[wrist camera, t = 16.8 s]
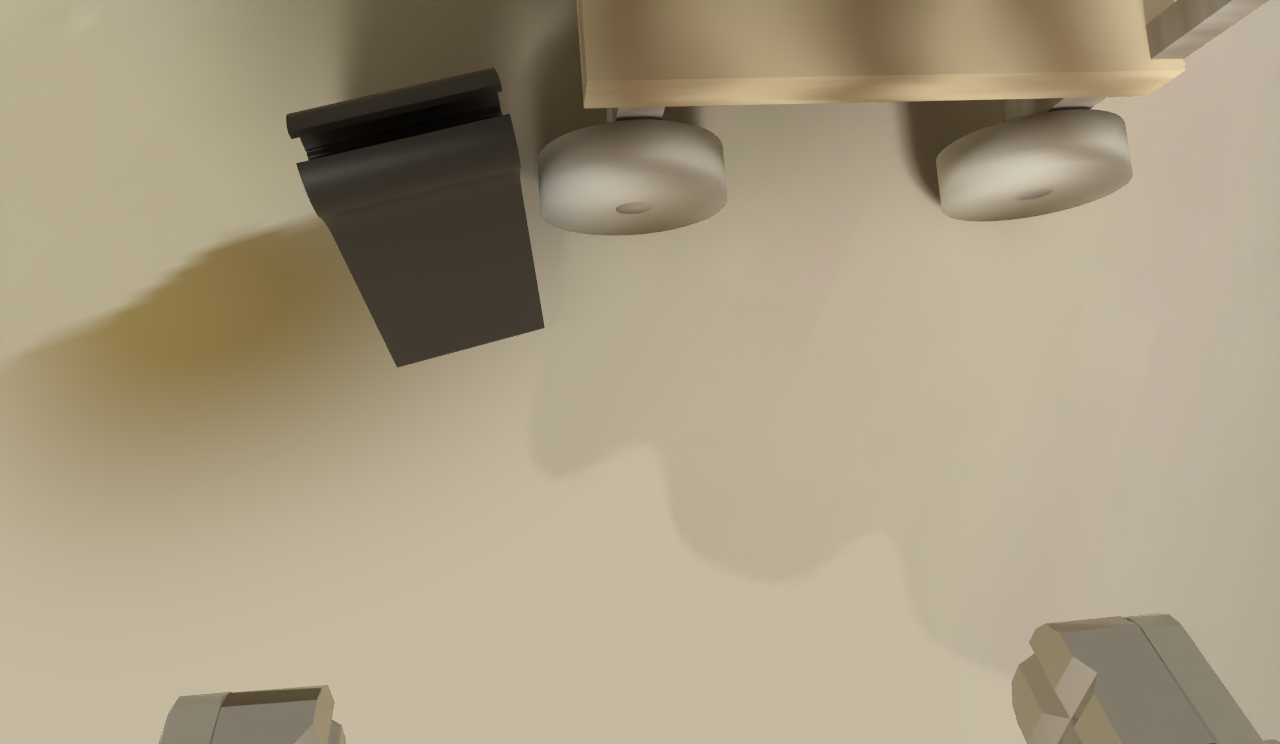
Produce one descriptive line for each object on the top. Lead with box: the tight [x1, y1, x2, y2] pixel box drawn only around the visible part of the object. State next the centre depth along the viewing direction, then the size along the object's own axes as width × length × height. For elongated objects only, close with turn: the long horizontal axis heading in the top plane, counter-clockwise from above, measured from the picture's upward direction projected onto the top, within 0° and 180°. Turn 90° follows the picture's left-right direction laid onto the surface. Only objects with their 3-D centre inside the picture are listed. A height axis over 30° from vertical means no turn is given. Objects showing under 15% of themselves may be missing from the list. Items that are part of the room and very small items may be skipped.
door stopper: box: [286, 68, 544, 367], centre depth 31 cm, size 9×6×12 cm, turn 16°
